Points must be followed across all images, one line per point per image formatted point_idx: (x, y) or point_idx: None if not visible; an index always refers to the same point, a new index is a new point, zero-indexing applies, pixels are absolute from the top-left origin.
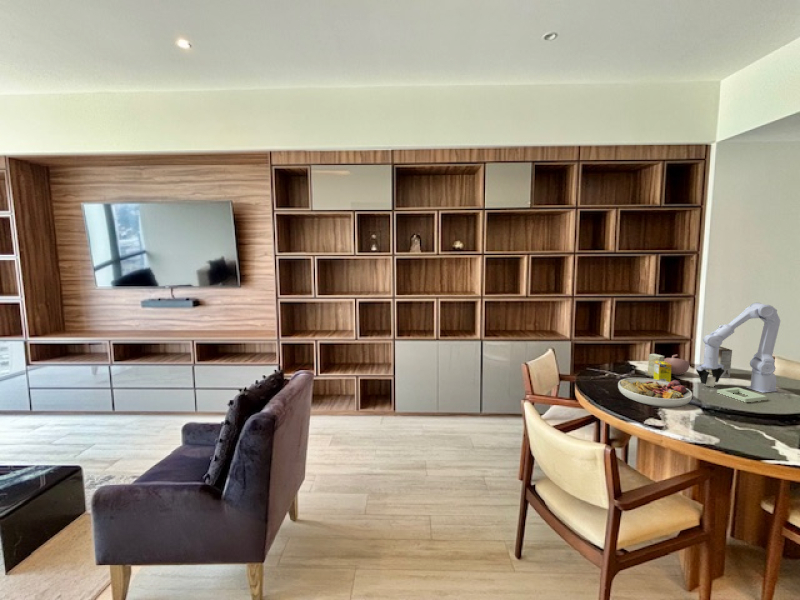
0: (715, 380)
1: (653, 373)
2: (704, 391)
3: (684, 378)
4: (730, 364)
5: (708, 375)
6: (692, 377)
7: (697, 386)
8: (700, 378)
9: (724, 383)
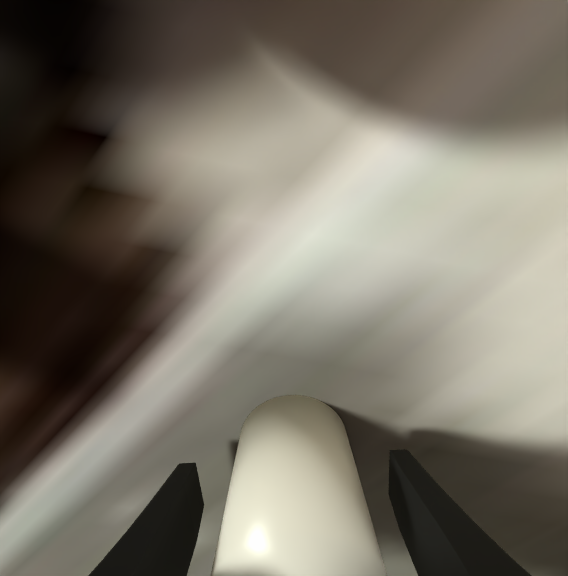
0: (400, 506)
1: None
2: (98, 550)
3: (227, 112)
4: None
5: (346, 551)
6: (407, 89)
7: (140, 435)
8: (132, 534)
9: (553, 410)
